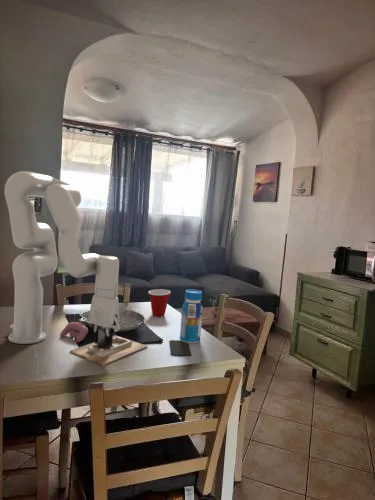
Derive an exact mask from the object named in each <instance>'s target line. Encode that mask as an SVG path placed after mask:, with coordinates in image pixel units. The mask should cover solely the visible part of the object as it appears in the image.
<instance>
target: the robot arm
mask: <svg viewBox="0 0 375 500" xmlns="http://www.w3.org/2000/svg"><path fill="white" fill-rule="evenodd" d="M4 196H5V197H4V198H5V202H6V206H7V208H8V209H7V210H8V214H9V215H8V216H9V222H10V229H11V235H12V241H13V244H14V246H15V247H17V248H18V249H23V250H26V249H27V250H29V249H32V250H33V251H30V252H24V253H22V254H19V255H18V256H16V257H15V258H14V260H13V262H12V266H11V267H12V275H13V281H14V302H13V303H14V305H13V323H12V324H10V325H9V328H10V329H12V333H10V334H9V335H8V341H9V342H10V343H13V344H20V345H28V344H37V343H39V342H42V341H44V340H45V339H46V338H47V333H46V332H44V331H42V329H43V307H44V306H43V305H44V303H43V302H44V287H43V283H42V280H41V278H42V277H46V276H49V275H52V274H53V273H55V272H56V271H57V269H58V268H57V267H58V264H59V262H58V261H59V260H58V258H59V257H60V259H61V261H62V264H63V266H64V268H65V270H66V272H68V274H69V275H70V276H71V277H73V278H77V279H78V278H79V279H80V278H84V277H88V276H94V275H95V283H94V285H95V286H94V288H93V290H94V294H92V299H91V303H90V307H89V319H88V321H89V322H90V324H91V326H92V327H93V332H94V342H95V344H97V343H98V328H99V327H104V328H106V336H105V343H104V346H105V347H109V346H112V341H113V336H115V335H116V333H117V332H118V331H121V325H120V303H119V297H118V290H119V289H118V288H119V272H120V271H119V270H120V260H119V258H118V257H117V256H112V255H102V254H98V253H94V252H88V253H82V252H81V249H80V248H79V245H78V241H77V240H78V239H77V236H78V233H79V231H80V229H81V228H82V226H83V219H82V217H81V215H80V213H79V211H78V208H77V207H79V206H80V204H81V202H82V194H81V193H80V191H79V189H78V188H77V187H76V186H74V185H71V184H69V183H67V182H64V181H63V180H60V179H58V178H56V177H53V176H51V175H48V174H45V173H44V174H43V173H38V172H33V171H27V170H25V171H23V170H22V171H17V172H15V173H13V174H11V175H10V176H9V177H8V179H7V181H6V183H5V185H4ZM30 197H32V198H33V197H34V198H42V199H44V200H45V202H46V204H47V207H48V209H49V211H50V213H51V216H52V218H53V221H54V223H55V226H56V227H57V230H58V236H57V237H58V238H57V244H56V239H55V233H54V231H53V229H52V228H51V226H50V225H48V224H47V223H45V222H41V221H40V222H38V221H37V218H36V210H35V207H34V205H33V203H32V202H31V200H30ZM57 250H58V252H57ZM58 254H59V257H58ZM109 328H110V329H109Z"/></svg>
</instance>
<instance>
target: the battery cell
mask: <svg viewBox="0 0 375 500" xmlns="http://www.w3.org/2000/svg"><path fill="white" fill-rule="evenodd" d="M109 329H110V330H111V328H109ZM105 336H106V328H104V327H99V328H98V343H97V347H98V348H108V347H105V346H104V343H105Z"/></svg>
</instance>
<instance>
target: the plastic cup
mask: <svg viewBox="0 0 375 500" xmlns="http://www.w3.org/2000/svg"><path fill="white" fill-rule="evenodd" d="M148 294H149V298H150V307H151V315H152V317H157V318H162V317H165V314H166V311H167V307H168V303H169V299H170V294H171V290H168V289H163V288H159V289H158V288H157V289H151V290H149V291H148Z"/></svg>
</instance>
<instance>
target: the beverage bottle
mask: <svg viewBox="0 0 375 500" xmlns="http://www.w3.org/2000/svg"><path fill="white" fill-rule="evenodd" d="M184 292H185V293H184V299H185V300H184V302H183V303H182V306H181V309H182V311H181V312H180V313H181V314H180V316H181V317H180V330H179V331H180V333H179V341H183V342H186V343H188V344H197V343H199V342H200V341H201V336H202V335H201V330H202V323H203V322H202V321H203V317H204V316H203V310H204V309H203V308H204V306H203V305H202V302H201V301H202V300H203V291H202V290H198V289H192V288H191V289H186V290H185V291H184Z"/></svg>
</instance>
